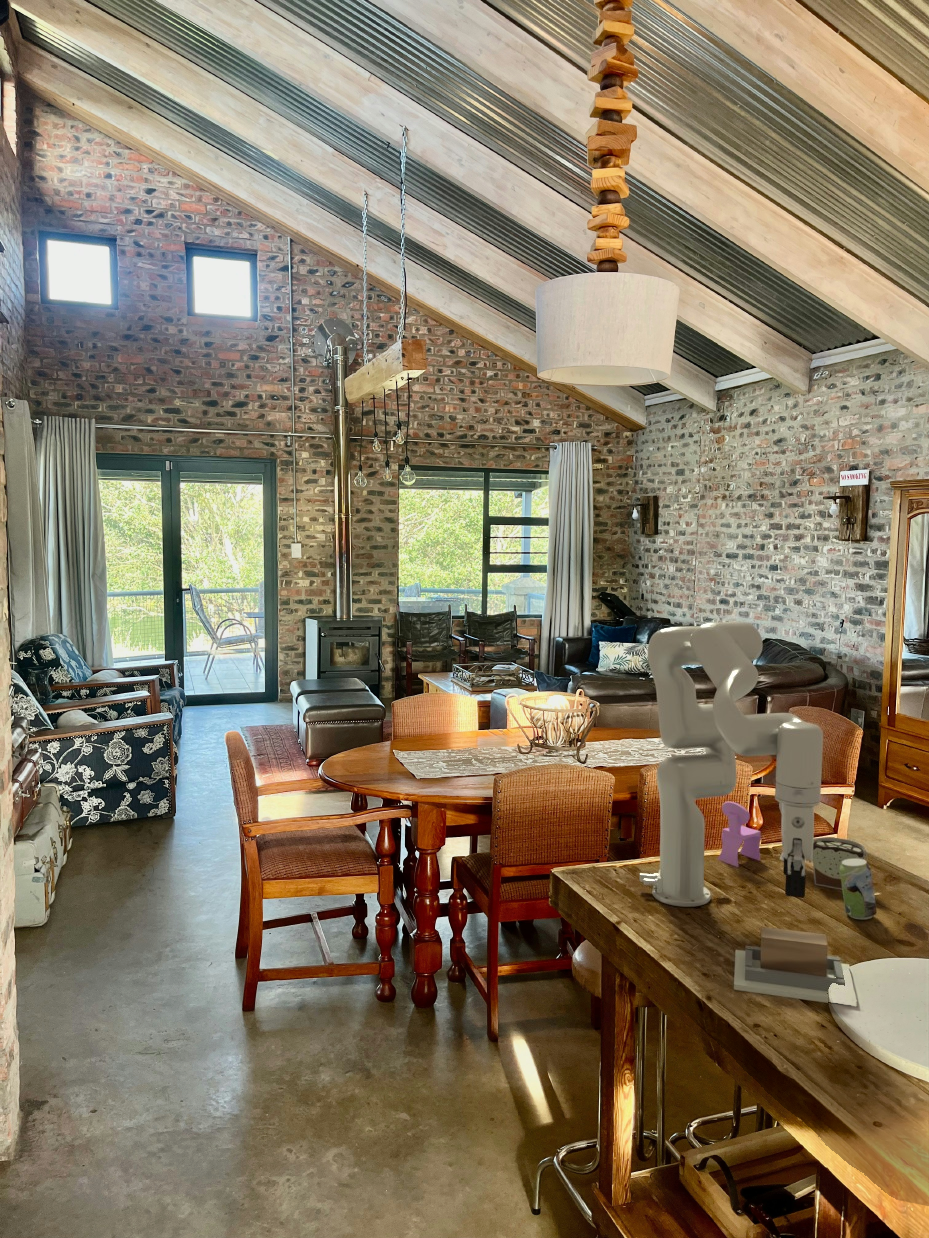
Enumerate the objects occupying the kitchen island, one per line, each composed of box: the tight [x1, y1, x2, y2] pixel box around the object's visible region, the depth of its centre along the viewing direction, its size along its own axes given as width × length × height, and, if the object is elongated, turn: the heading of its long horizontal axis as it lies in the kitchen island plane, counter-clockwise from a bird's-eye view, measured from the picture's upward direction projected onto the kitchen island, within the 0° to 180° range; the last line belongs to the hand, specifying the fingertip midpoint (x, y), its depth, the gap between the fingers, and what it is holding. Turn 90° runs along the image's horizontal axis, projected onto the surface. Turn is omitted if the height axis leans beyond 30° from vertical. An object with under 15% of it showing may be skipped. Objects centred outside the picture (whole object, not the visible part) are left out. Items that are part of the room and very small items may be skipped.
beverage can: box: [840, 858, 878, 920], centre depth 189 cm, size 6×7×12 cm
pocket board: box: [733, 945, 851, 1004], centre depth 162 cm, size 20×14×3 cm
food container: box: [812, 837, 868, 891], centre depth 206 cm, size 12×6×10 cm, turn 58°
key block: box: [760, 926, 829, 977], centre depth 162 cm, size 4×11×7 cm, turn 72°
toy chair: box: [717, 801, 762, 868], centre depth 222 cm, size 8×9×15 cm
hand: (793, 885), depth 161 cm, fingers open, 9 cm apart
